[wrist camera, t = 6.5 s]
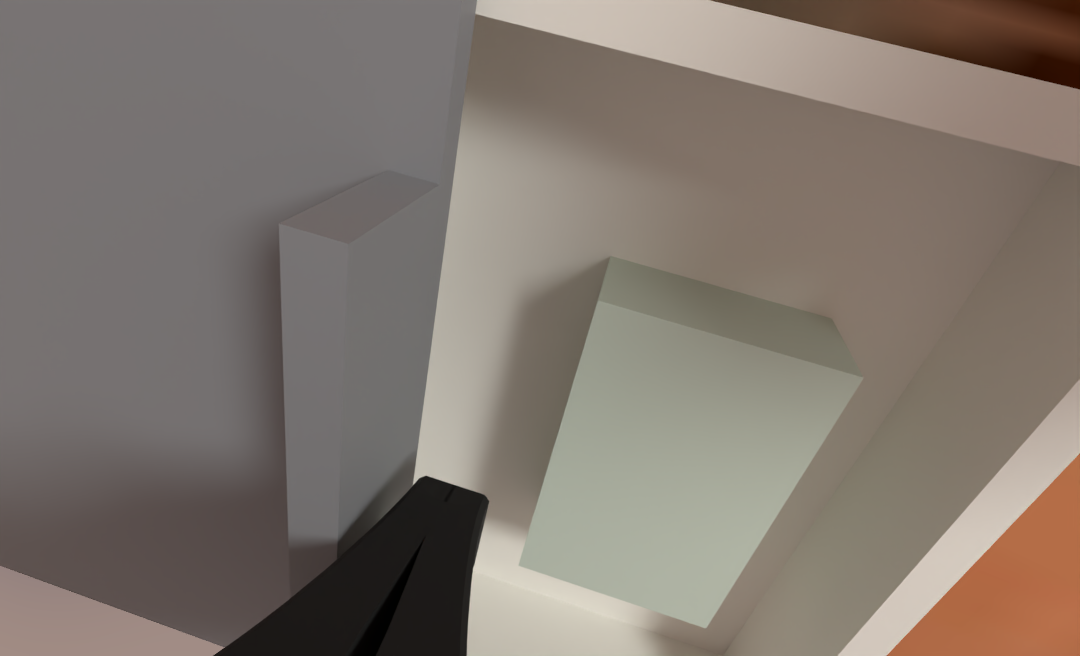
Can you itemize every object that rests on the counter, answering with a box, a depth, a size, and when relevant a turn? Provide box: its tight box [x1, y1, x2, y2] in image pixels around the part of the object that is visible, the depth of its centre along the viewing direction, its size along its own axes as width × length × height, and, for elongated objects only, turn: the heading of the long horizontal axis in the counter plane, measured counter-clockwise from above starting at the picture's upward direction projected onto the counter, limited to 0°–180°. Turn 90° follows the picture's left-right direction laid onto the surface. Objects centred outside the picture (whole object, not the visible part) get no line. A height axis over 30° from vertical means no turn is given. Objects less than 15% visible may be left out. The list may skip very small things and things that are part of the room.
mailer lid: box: [0, 0, 477, 647], centre depth 11 cm, size 18×14×3 cm
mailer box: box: [413, 0, 1080, 656], centre depth 13 cm, size 18×14×4 cm
